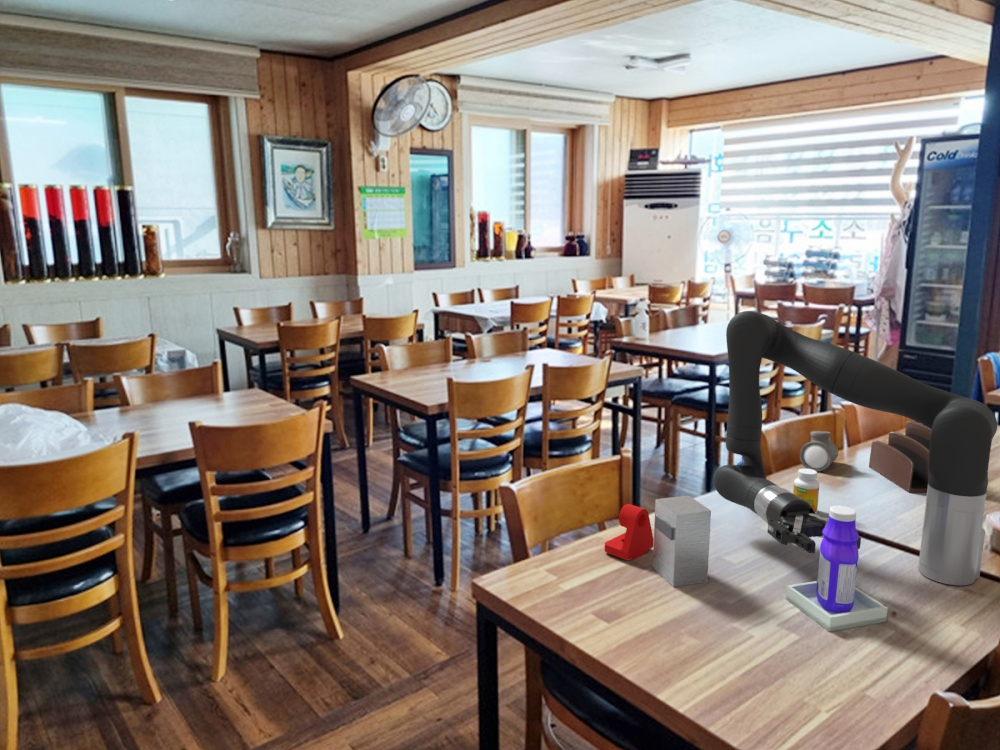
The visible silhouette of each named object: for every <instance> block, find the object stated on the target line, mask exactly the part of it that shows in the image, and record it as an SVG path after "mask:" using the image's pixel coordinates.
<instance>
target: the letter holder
mask: <svg viewBox="0 0 1000 750" xmlns="http://www.w3.org/2000/svg"><path fill="white" fill-rule="evenodd" d="M904 429H905V431H904V432H905V433H904V434H903V433H900V432H896V431H890V432H888V437H887V438H888V440H887V443H885V442H882V441H881V440H873V441H872V442H871V448H870V455H869V461H868V467H869V468H870V469H872V470H873V471H875V472H876V473H878V474H879V473H880V475H881V476H882V477H884V478H885V479H887V480H889V481H890V482H892V483H894V484H895V485H896V486H898V487H899V488H900V489H903V490H904V491H905V492H907V493H909V494H913V493H914V494H915V493H918V494H919V493H922V494H923V493H925V494H927V488H928V479H929V473H928V459H929V448H930V438H931V430H932V429H930V428H928V427H926V426H924V425H922V424H920V423H918V422H916V421H913V420H912V421H911V420H908V421H906V422H905V428H904Z"/></svg>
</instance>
